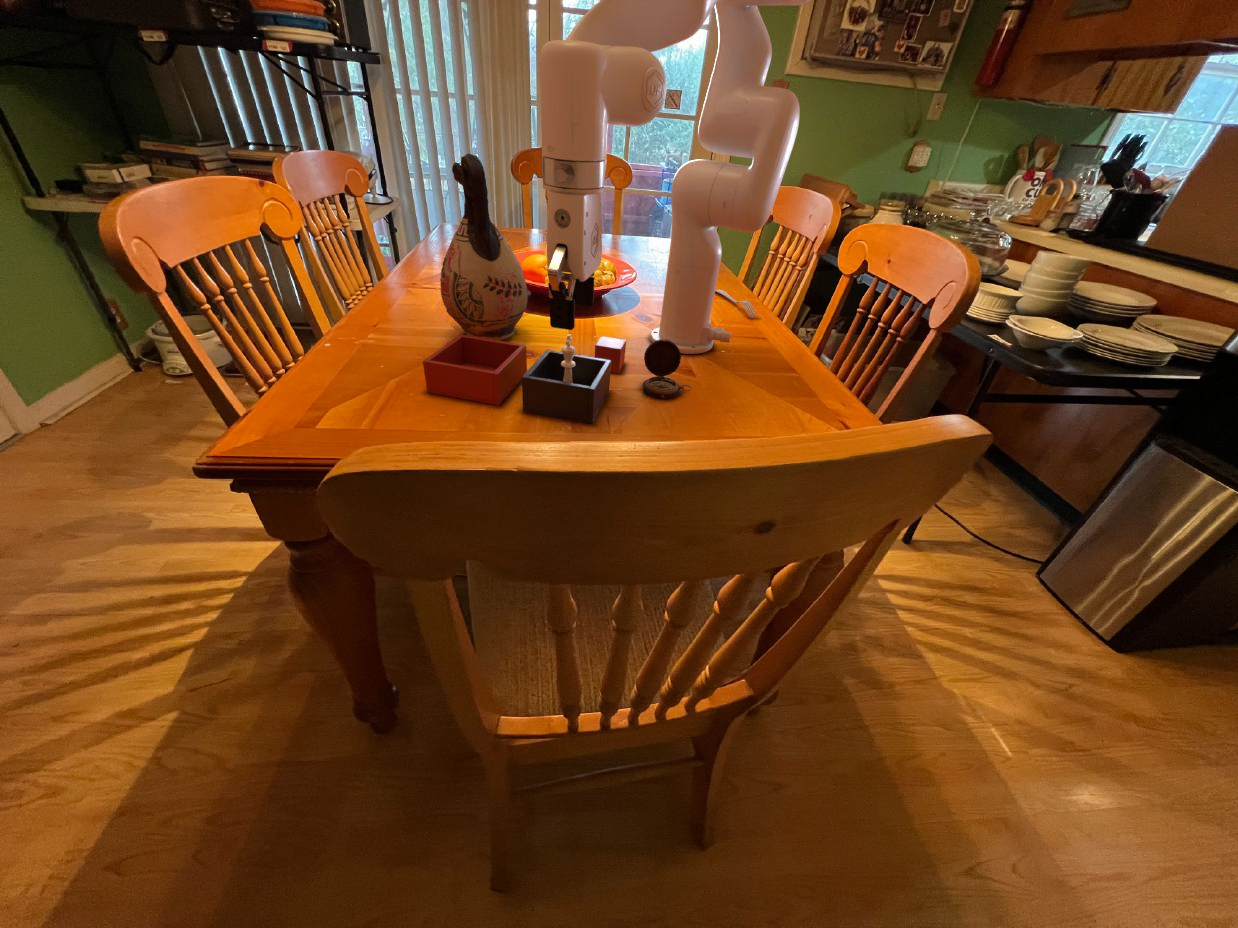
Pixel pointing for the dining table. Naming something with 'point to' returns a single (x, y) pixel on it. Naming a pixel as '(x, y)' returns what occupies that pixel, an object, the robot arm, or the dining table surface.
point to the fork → (739, 302)
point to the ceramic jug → (481, 265)
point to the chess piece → (568, 360)
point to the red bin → (476, 369)
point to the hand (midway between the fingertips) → (573, 315)
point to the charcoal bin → (566, 387)
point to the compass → (662, 369)
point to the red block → (611, 352)
